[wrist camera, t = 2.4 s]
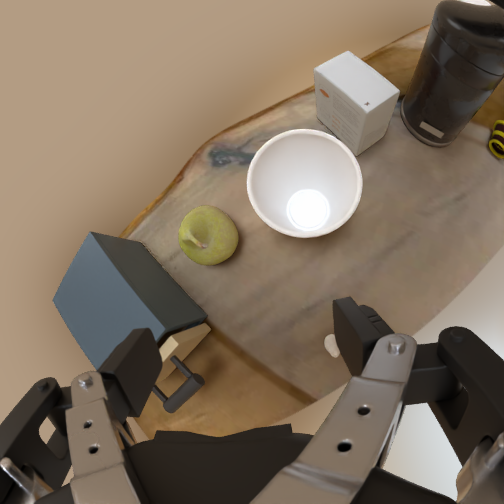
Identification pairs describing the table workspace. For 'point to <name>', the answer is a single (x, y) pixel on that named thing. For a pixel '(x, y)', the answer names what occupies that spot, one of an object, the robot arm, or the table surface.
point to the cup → (304, 183)
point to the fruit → (208, 235)
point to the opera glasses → (497, 139)
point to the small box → (354, 101)
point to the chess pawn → (331, 345)
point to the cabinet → (119, 296)
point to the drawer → (179, 363)
